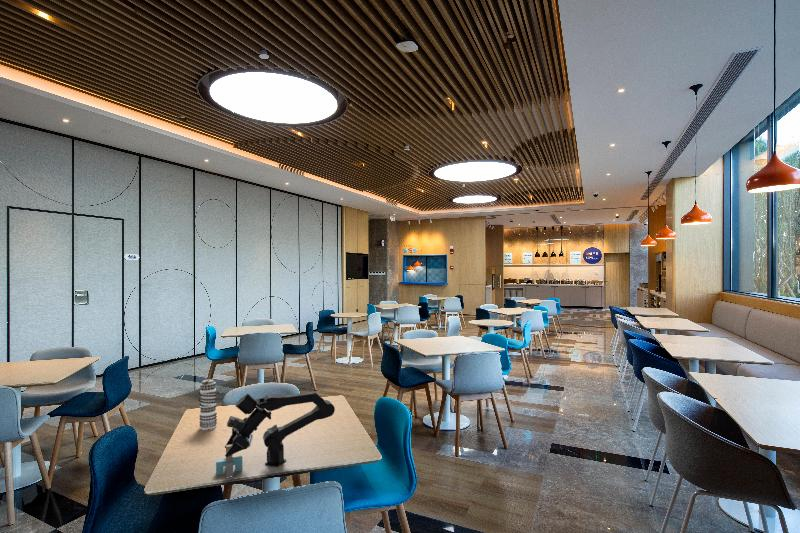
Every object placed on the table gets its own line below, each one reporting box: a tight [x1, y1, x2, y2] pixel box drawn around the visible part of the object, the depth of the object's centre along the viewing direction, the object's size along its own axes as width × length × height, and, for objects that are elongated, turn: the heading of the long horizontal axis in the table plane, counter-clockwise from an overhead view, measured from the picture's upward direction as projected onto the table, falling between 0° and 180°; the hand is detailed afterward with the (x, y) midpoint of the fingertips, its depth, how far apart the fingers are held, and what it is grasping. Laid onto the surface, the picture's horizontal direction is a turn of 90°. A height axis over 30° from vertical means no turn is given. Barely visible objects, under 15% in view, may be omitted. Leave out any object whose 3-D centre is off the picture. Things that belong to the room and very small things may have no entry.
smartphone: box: [248, 433, 254, 448], centre depth 206 cm, size 7×1×15 cm
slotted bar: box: [225, 461, 234, 478], centre depth 174 cm, size 12×2×5 cm, turn 23°
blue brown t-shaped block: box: [215, 444, 243, 476], centre depth 174 cm, size 10×2×10 cm, turn 113°
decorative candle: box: [198, 378, 218, 431], centre depth 227 cm, size 9×9×25 cm
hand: (225, 452), depth 174 cm, fingers open, 9 cm apart
